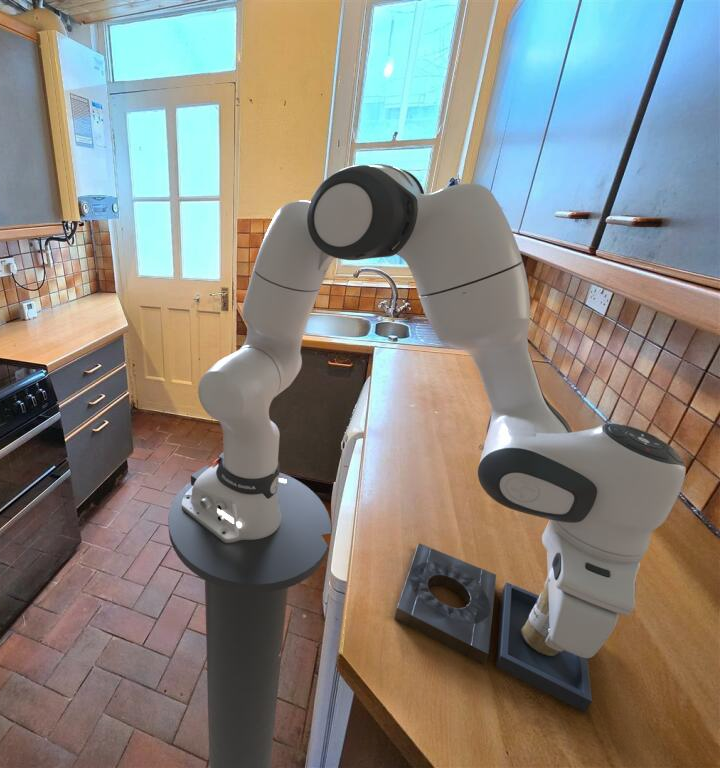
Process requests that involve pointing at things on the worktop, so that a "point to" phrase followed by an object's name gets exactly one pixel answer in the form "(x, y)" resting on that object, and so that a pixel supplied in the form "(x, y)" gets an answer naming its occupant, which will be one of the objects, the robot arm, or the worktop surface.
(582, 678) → the basin tray
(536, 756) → the worktop surface
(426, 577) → the drain plate
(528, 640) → the sprinkles bottle
